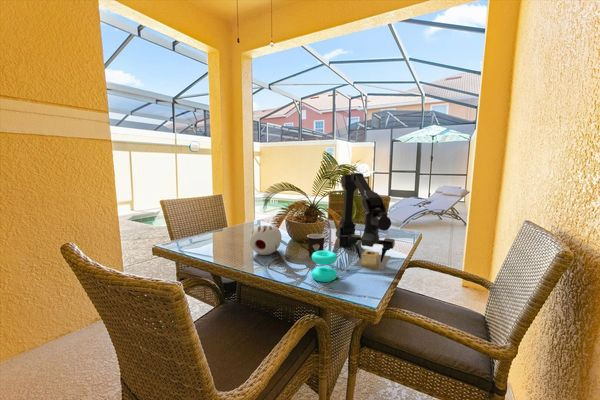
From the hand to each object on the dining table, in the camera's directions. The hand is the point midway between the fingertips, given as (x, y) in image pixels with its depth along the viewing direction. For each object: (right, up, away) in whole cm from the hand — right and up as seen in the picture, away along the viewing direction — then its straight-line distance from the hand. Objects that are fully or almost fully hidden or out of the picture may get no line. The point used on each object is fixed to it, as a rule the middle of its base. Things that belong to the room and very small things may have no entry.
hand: (370, 260), depth 120 cm
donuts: (-21, -5, -10) cm, 24 cm away
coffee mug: (-24, -1, +17) cm, 29 cm away
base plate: (+2, -3, +5) cm, 6 cm away
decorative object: (-47, -1, +21) cm, 52 cm away
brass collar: (0, -2, 0) cm, 2 cm away
